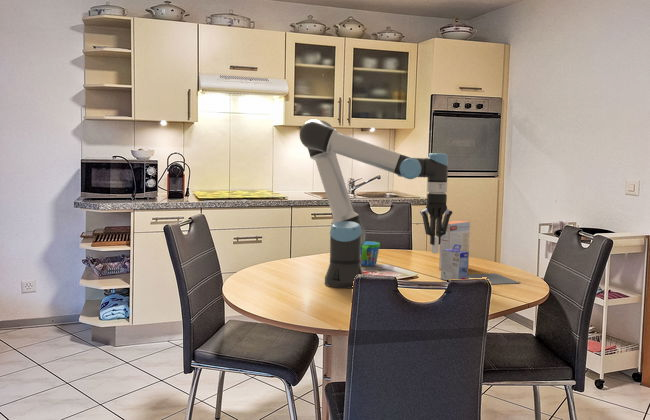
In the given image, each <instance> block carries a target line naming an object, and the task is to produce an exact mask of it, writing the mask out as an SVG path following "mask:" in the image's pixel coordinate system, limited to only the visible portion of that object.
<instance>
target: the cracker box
mask: <svg viewBox="0 0 650 420" xmlns="http://www.w3.org/2000/svg"><path fill="white" fill-rule="evenodd" d="M470 228H471V222H470V221H468V220H467V221H466V220H453V221H449V222H448V226H447V230H446V234H445V235H442V237H441V242H440V245H439V261H438V262H439V267H438V268H439V270H440V271H441V263H442V250H444V249H453V247H454V245H455V244H457V245H462V246H461V248H460V251H465V252H469V253H470V234H471V233H470V232H471V231H470ZM455 248H459V247H458V246H455ZM469 256H470V255H469ZM469 256H468V266H469V262H470V261H469V259H470V257H469Z"/></svg>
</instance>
